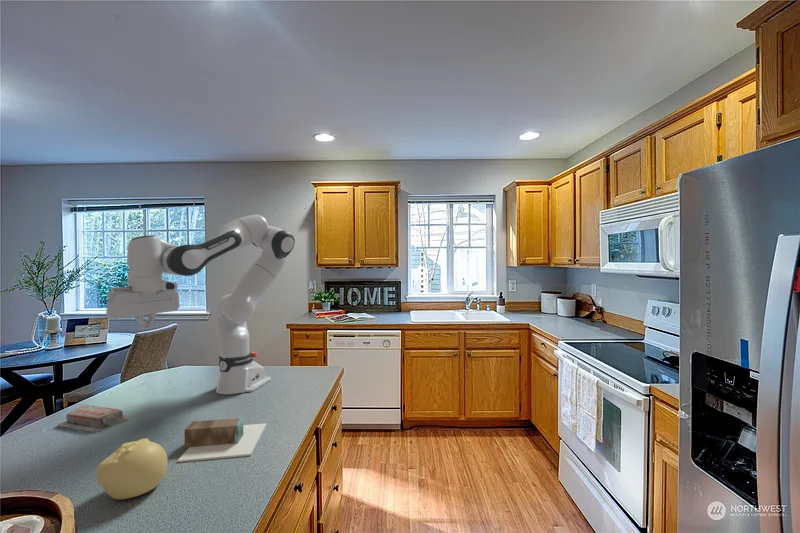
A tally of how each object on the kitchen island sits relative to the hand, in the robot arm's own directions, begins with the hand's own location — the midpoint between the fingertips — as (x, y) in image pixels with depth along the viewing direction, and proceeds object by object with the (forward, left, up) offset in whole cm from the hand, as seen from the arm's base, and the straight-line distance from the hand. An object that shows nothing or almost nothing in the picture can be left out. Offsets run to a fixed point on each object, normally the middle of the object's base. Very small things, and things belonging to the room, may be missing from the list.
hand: (145, 328), depth 110 cm
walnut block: (+4, +24, -28) cm, 37 cm away
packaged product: (+5, -19, -32) cm, 37 cm away
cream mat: (-1, +33, -31) cm, 45 cm away
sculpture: (+22, +31, -31) cm, 49 cm away
